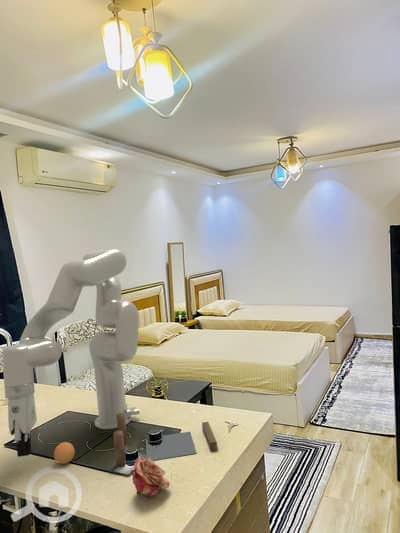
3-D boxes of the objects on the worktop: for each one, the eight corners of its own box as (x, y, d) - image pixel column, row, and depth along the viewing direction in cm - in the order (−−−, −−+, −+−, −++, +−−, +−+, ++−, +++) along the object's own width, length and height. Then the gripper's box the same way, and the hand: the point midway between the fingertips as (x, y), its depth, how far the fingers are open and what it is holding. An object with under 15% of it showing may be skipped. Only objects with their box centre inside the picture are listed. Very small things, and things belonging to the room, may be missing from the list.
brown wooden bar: (208, 429, 126) (208, 421, 126) (217, 450, 112) (216, 441, 112) (202, 430, 125) (201, 422, 125) (210, 451, 112) (209, 442, 111)
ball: (76, 456, 115) (75, 437, 115) (73, 465, 110) (71, 446, 110) (57, 459, 115) (55, 440, 114) (52, 469, 109) (51, 449, 109)
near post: (126, 461, 110) (123, 430, 110) (125, 466, 107) (122, 434, 107) (116, 463, 110) (113, 431, 109) (116, 468, 107) (113, 435, 107)
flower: (123, 503, 88) (142, 474, 88) (120, 474, 97) (136, 447, 97) (159, 515, 92) (177, 486, 91) (153, 486, 100) (169, 460, 100)
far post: (127, 440, 122) (124, 412, 122) (127, 444, 120) (124, 415, 120) (118, 442, 122) (116, 413, 122) (118, 446, 120) (115, 416, 119)
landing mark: (190, 432, 125) (190, 431, 125) (196, 453, 111) (196, 453, 111) (145, 438, 123) (145, 438, 123) (146, 461, 109) (146, 461, 109)
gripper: (26, 396, 103) (31, 466, 103) (40, 380, 118) (44, 441, 118) (-5, 399, 102) (0, 470, 102) (14, 383, 117) (18, 444, 117)
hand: (24, 454), depth 110 cm, fingers closed
